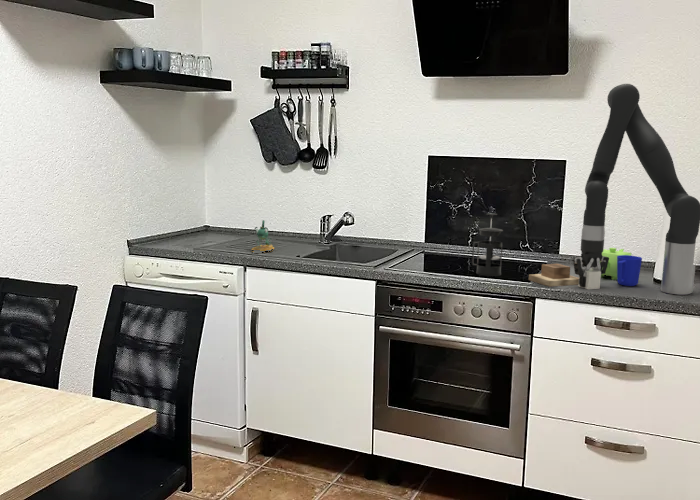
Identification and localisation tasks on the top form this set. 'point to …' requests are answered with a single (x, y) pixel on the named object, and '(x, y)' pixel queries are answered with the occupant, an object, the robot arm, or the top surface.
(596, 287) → the cube
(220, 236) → the top surface
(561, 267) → the base block
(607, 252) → the kettle
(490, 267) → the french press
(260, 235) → the frog figurine
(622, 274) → the mug
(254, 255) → the top surface
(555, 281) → the board
